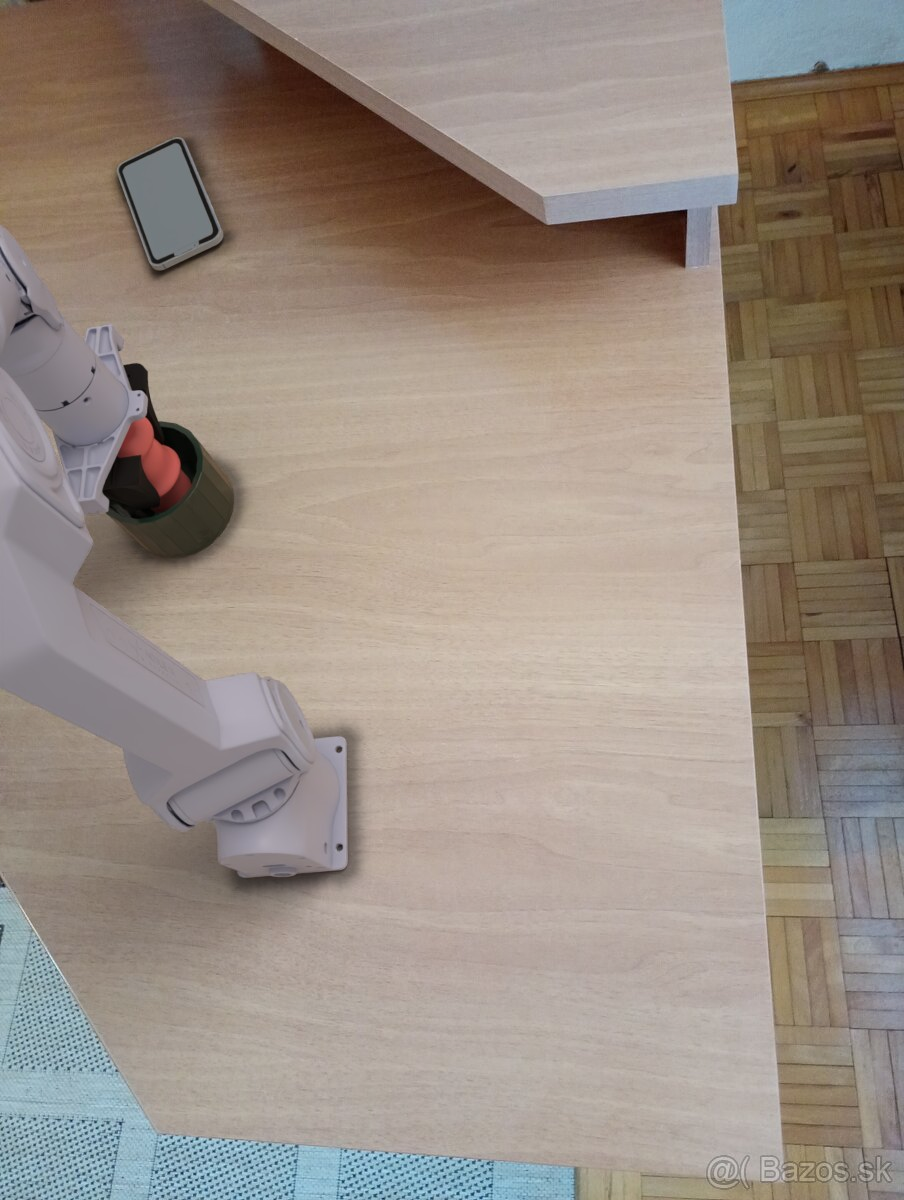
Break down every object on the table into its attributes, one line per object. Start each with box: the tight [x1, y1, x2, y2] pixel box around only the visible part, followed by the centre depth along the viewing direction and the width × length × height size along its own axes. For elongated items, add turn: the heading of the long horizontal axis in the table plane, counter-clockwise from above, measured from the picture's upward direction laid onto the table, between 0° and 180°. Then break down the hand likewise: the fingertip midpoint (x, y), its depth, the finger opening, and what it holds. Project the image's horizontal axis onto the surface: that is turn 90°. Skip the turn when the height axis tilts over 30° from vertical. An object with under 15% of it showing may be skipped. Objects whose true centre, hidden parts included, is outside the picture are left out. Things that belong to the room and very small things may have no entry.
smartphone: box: [116, 136, 224, 271], centre depth 102 cm, size 7×1×15 cm
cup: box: [104, 420, 235, 559], centre depth 86 cm, size 9×9×6 cm
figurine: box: [117, 417, 191, 513], centre depth 79 cm, size 5×5×15 cm
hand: (150, 473), depth 83 cm, fingers closed on figurine, 5 cm apart
